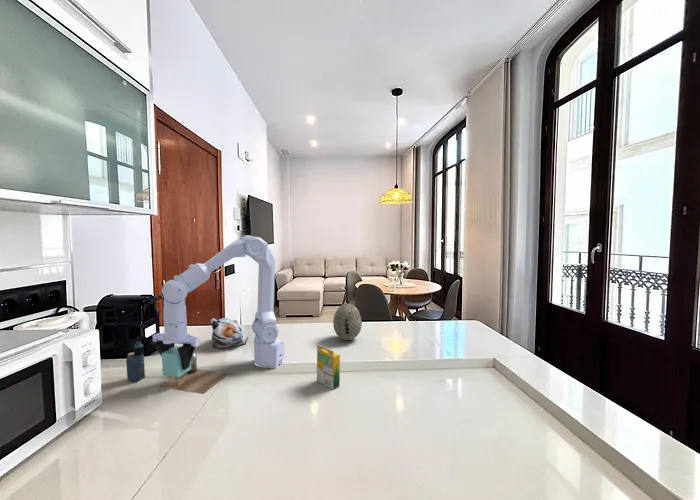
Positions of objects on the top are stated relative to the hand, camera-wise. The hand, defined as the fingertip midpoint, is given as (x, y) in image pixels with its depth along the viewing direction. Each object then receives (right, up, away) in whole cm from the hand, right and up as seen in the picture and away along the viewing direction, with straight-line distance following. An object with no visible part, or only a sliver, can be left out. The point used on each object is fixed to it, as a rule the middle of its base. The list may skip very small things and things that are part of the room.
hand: (177, 367), depth 94 cm
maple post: (0, -6, +1) cm, 6 cm away
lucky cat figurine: (+4, -3, +32) cm, 32 cm away
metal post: (+1, -5, +8) cm, 9 cm away
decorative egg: (+49, -3, +39) cm, 63 cm away
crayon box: (+44, -7, +4) cm, 44 cm away
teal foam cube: (0, -2, 0) cm, 2 cm away
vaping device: (-15, -6, +4) cm, 16 cm away
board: (+4, -6, +3) cm, 7 cm away
